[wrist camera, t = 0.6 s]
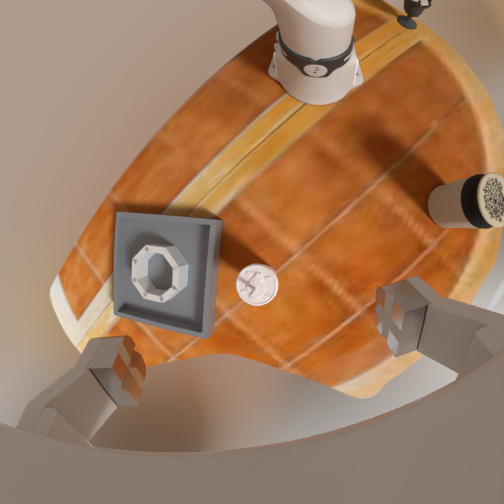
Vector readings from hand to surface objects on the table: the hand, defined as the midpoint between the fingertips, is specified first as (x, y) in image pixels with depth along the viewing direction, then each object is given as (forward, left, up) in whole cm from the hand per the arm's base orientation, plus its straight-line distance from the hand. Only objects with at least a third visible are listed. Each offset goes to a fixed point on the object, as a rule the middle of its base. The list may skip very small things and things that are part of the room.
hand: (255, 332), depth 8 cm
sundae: (-56, +23, -42) cm, 74 cm away
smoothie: (+6, -5, -42) cm, 43 cm away
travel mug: (-11, +28, -42) cm, 52 cm away
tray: (+8, -25, -42) cm, 50 cm away
